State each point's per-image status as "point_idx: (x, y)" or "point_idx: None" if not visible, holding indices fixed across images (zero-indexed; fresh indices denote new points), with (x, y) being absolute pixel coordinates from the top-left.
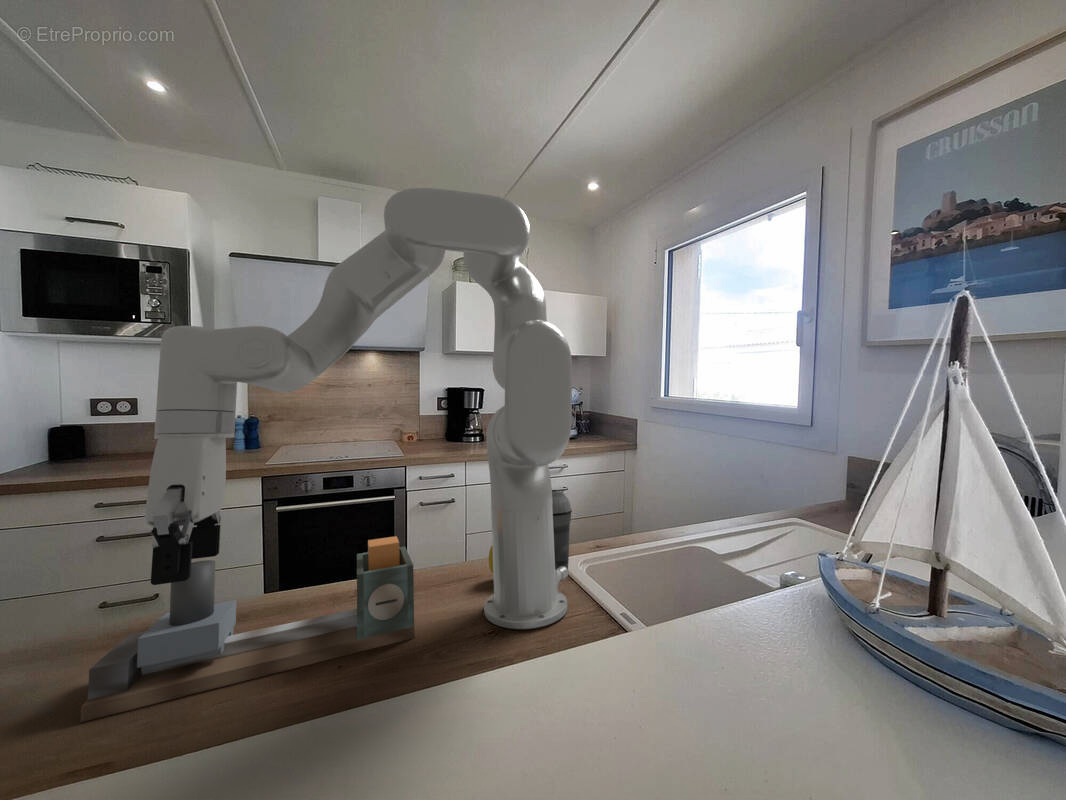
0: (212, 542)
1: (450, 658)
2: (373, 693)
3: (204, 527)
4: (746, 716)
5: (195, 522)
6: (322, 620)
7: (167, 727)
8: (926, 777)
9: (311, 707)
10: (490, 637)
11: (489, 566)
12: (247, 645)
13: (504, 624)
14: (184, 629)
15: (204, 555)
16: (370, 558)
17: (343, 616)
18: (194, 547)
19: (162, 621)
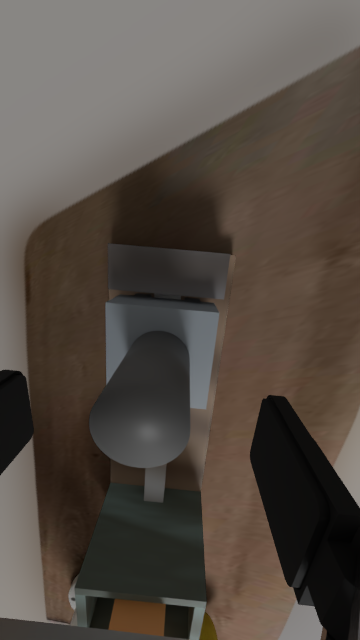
0: (265, 493)
1: (61, 524)
2: (36, 471)
3: (315, 557)
4: None
5: (356, 579)
6: (150, 470)
7: (62, 332)
8: None
9: (38, 433)
10: (80, 554)
11: (202, 627)
12: None
13: None
14: (107, 359)
15: (257, 435)
16: (109, 625)
17: (147, 489)
18: (273, 438)
19: (169, 317)
